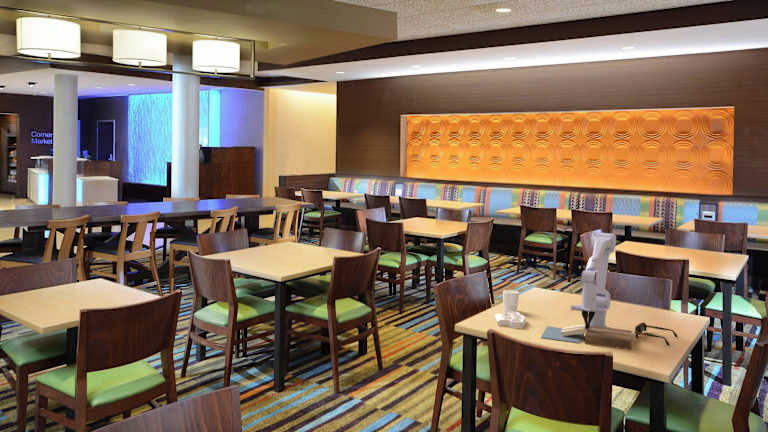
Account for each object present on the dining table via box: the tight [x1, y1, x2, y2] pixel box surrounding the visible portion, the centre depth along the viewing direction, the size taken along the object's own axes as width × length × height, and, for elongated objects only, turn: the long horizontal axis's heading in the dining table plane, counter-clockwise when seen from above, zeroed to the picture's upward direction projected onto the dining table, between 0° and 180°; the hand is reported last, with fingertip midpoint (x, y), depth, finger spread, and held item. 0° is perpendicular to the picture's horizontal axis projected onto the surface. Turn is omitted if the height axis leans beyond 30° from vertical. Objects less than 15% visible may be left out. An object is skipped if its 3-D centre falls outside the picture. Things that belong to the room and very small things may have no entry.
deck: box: [584, 326, 633, 350], centre depth 259 cm, size 16×18×4 cm
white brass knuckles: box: [494, 311, 529, 330], centre depth 284 cm, size 3×18×15 cm
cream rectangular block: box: [561, 323, 587, 336], centre depth 264 cm, size 7×10×2 cm
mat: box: [540, 326, 584, 344], centre depth 266 cm, size 18×16×1 cm
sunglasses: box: [634, 322, 679, 346], centre depth 264 cm, size 14×15×5 cm
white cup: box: [502, 289, 520, 313], centre depth 304 cm, size 8×8×10 cm
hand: (587, 328), depth 262 cm, fingers closed
